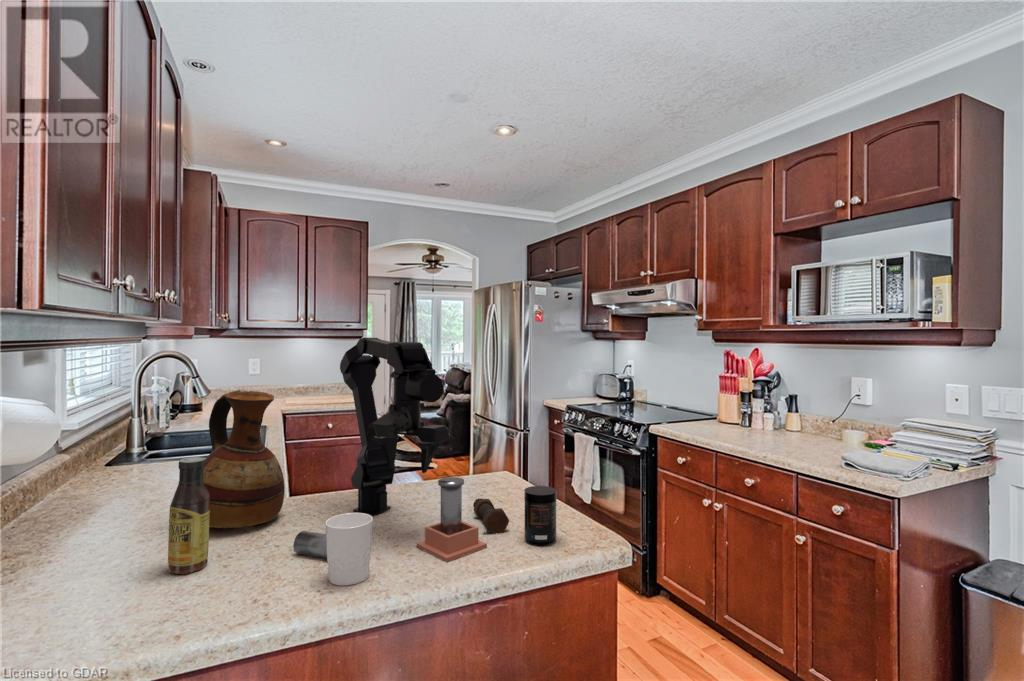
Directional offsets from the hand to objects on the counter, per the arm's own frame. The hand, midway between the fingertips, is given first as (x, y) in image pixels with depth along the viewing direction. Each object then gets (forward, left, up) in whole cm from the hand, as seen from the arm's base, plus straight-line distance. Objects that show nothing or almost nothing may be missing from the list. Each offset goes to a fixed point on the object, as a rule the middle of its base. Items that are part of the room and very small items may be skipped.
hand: (407, 470), depth 112 cm
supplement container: (+28, +9, -13) cm, 32 cm away
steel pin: (+14, -3, -12) cm, 19 cm away
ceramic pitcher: (-37, -15, -13) cm, 42 cm away
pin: (-5, -16, -12) cm, 21 cm away
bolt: (+13, +13, -14) cm, 23 cm away
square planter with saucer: (+14, -3, -13) cm, 19 cm away
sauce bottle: (-22, -34, -13) cm, 43 cm away
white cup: (+6, -22, -13) cm, 27 cm away
